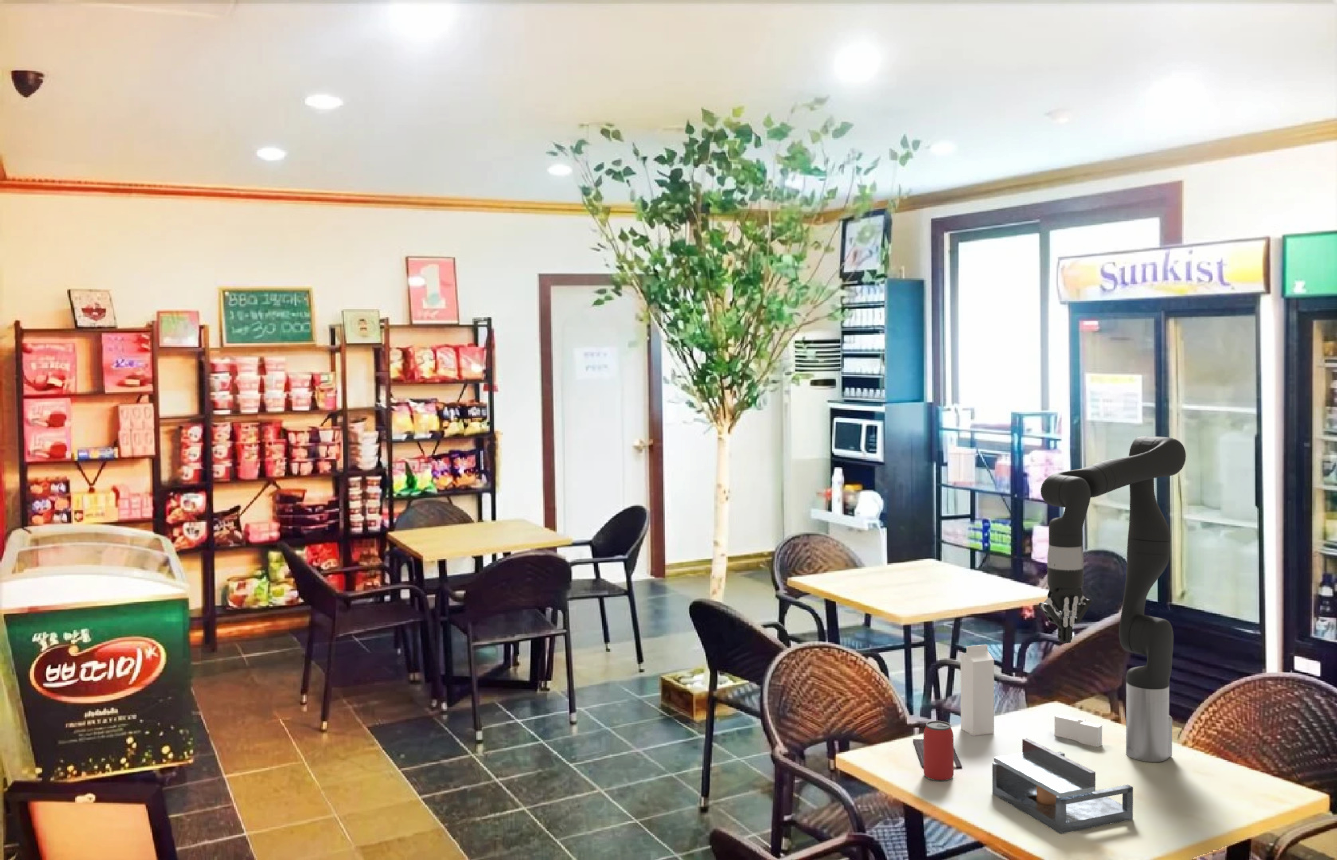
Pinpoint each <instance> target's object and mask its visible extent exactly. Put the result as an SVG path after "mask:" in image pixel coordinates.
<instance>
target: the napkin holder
mask: <svg viewBox="0 0 1337 860" xmlns="http://www.w3.org/2000/svg"><path fill="white" fill-rule="evenodd" d="M1054 736H1056V737H1061V738H1064V739H1068V740H1073V741H1076V742H1077V743H1079V744H1082V745H1087V746H1092V747H1095V748H1099V747H1100V746H1102V745H1103V725H1102V724H1098V723H1094V722H1089V721H1087V720H1086V719H1083V718H1079V717H1073V716H1069V715H1064V714H1061V713H1058V714H1056V715H1054Z"/></svg>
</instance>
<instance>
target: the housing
mask: <svg viewBox="0 0 1337 860" xmlns="http://www.w3.org/2000/svg"><path fill="white" fill-rule="evenodd" d="M1055 752H1056V751H1055ZM1056 753H1058V754H1060V755H1062V756H1064V757H1066V754H1065V753H1064V752H1062V751H1057V752H1056ZM991 767H992V768H991V769H992V770H991V771H992V774H991V775H992V776H991V777H992V779H991V780H992V785H991V786H992V788H991V791H992V792H991V793H992V795H994V796H995V797H997V798H999V799H1000V800H1002V801H1004V802H1006V803H1007V804H1009V805H1011V806H1012V807H1013V808H1016V809H1018V810H1019V811H1021V812H1023V813H1024V814H1026V815H1027V816H1029V817H1031V818H1032V819H1034V820H1036V821H1037V822H1039V823H1041V824H1043V825H1044V826H1046V827H1048V828H1050V829H1051V830H1053V831H1055V832H1056V833H1057V834H1059V835H1063V834H1068V833H1071V832H1072V833H1073V832H1077V831H1083V830H1087V829H1092V828H1097V827H1102V826H1107V825H1111V824H1112V825H1113V824H1116V823H1117V824H1118V823H1122V822H1127V821H1132V820H1134V814H1133V813H1134V786H1131V785H1130V784H1123V785H1117V786H1113V787H1108V788H1103V789H1097V790H1096V789H1095V792H1090V793H1084V794H1079V795H1074V796H1068V797H1063V798H1059V797H1058V796H1057V798H1056V805H1051V806H1045V807H1044V806H1042V805H1041V804H1039V803H1037V785H1036V784H1034V783H1032V782H1030V781H1028V780H1026V779H1025V778H1023V777H1021V776H1019V775H1017V774H1015V773H1014V772H1012V771H1010V770H1008V769H1006V768H1004V767H1003V766H1001V765H999V764H997V763H995V762H993V763H992V766H991ZM1119 795H1122V799H1121V800H1122V803H1121V802H1118V801H1117V800H1114V799H1112V798H1111V797H1113V796H1119Z"/></svg>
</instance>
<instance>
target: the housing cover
mask: <svg viewBox="0 0 1337 860" xmlns="http://www.w3.org/2000/svg"><path fill="white" fill-rule="evenodd" d="M1021 742H1022V743H1021V744H1022V745H1021V746H1022V752H1017V753H1010V754H1006V755H999V756H993V763H997V764H999V765H1001V766H1003V767H1004V768H1006V769H1008V770H1010V771H1012V772H1014V773H1015V774H1017V775H1019V776H1021V777H1023V778H1025V779H1026V780H1028V781H1030V782H1032V783H1034V784H1036V785H1037V786H1039V787H1041V788H1043V789H1045V790H1047V791H1048V792H1050V793H1052V794H1054V795H1056V796H1058V797H1059V798H1063V797H1068V796H1074V795H1079V794H1084V793H1090V792H1095V791H1096V771H1094V770H1093V769H1090V768H1088V767H1086V766H1085V765H1083V764H1080V763H1078V762H1076V761H1074V760H1072V759H1070V758H1068V757H1066V756H1065V757H1064V756H1062V755H1060V754H1058V753H1056V751H1054V750H1051V749H1049V748H1047V747H1046V746H1043V745H1041V744H1039V743H1037V742H1035V741H1033V740H1031V739H1029V738H1028V737H1026V738H1022V741H1021Z"/></svg>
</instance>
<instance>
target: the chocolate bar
mask: <svg viewBox="0 0 1337 860" xmlns="http://www.w3.org/2000/svg"><path fill="white" fill-rule="evenodd" d="M912 742H913V744H914V748H915V750H916V753H917V756H918V759H919V762H920V765H921V768H922V769H924V738H921V739H920V738H919V739H917V738H915V739H914V738H913V739H912ZM959 769H962V770H963V765H962V763H961V761H960V759H959V756H958V754H957V751H956V749H955V748H954V770H959Z"/></svg>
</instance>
